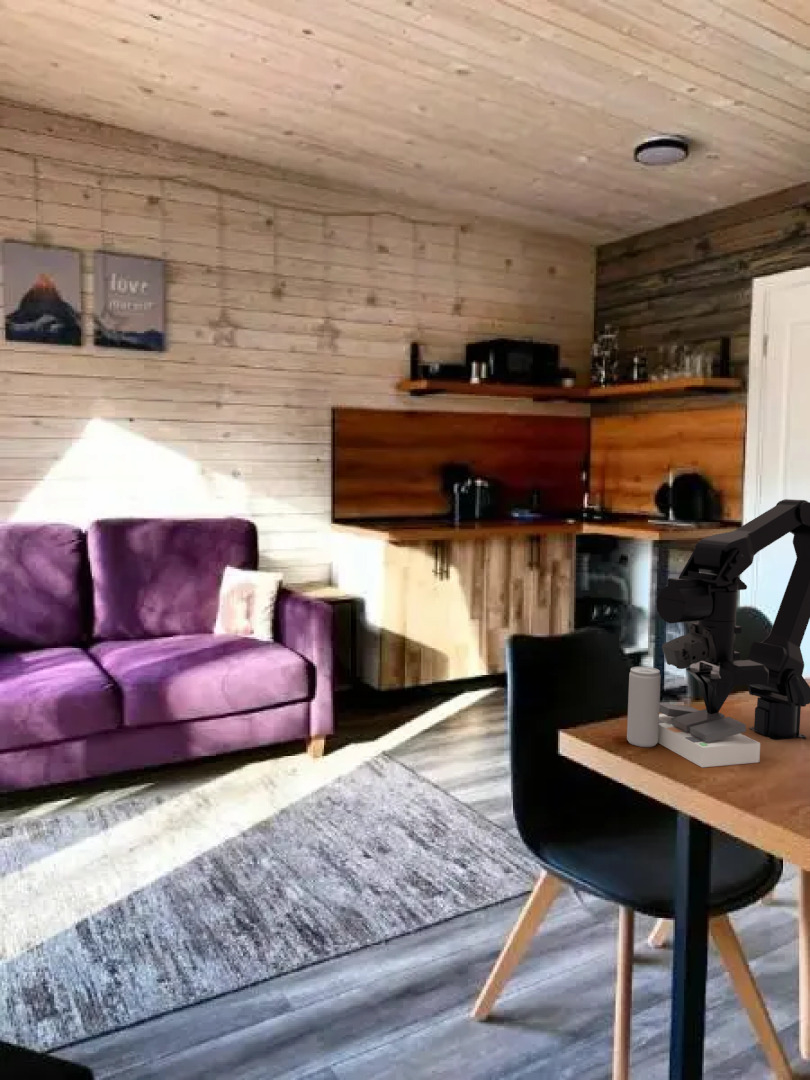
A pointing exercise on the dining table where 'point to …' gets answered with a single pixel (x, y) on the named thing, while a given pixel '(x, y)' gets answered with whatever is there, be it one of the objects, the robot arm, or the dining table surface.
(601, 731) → the dining table surface
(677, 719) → the block
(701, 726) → the block
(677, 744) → the rocker switch panel
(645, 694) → the beverage can
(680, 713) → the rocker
